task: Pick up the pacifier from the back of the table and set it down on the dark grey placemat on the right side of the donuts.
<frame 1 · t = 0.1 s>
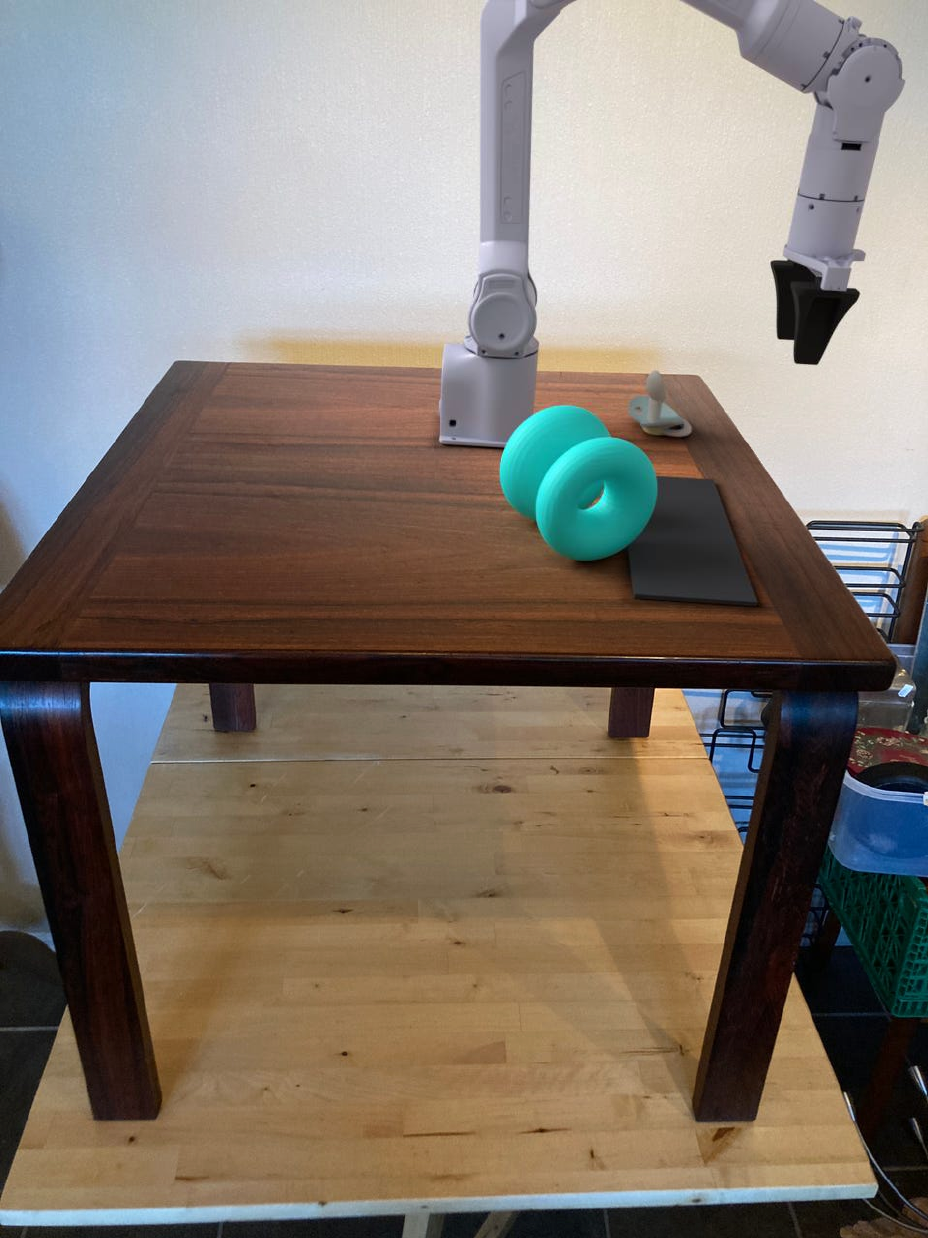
hand: (796, 350, 92), 10 cm above the table, tool pointing down, fingers open, 7 cm apart
placemat: (677, 534, 81), on the table
pacifier: (660, 431, 101), on the table
donuts: (570, 540, 80), on the table
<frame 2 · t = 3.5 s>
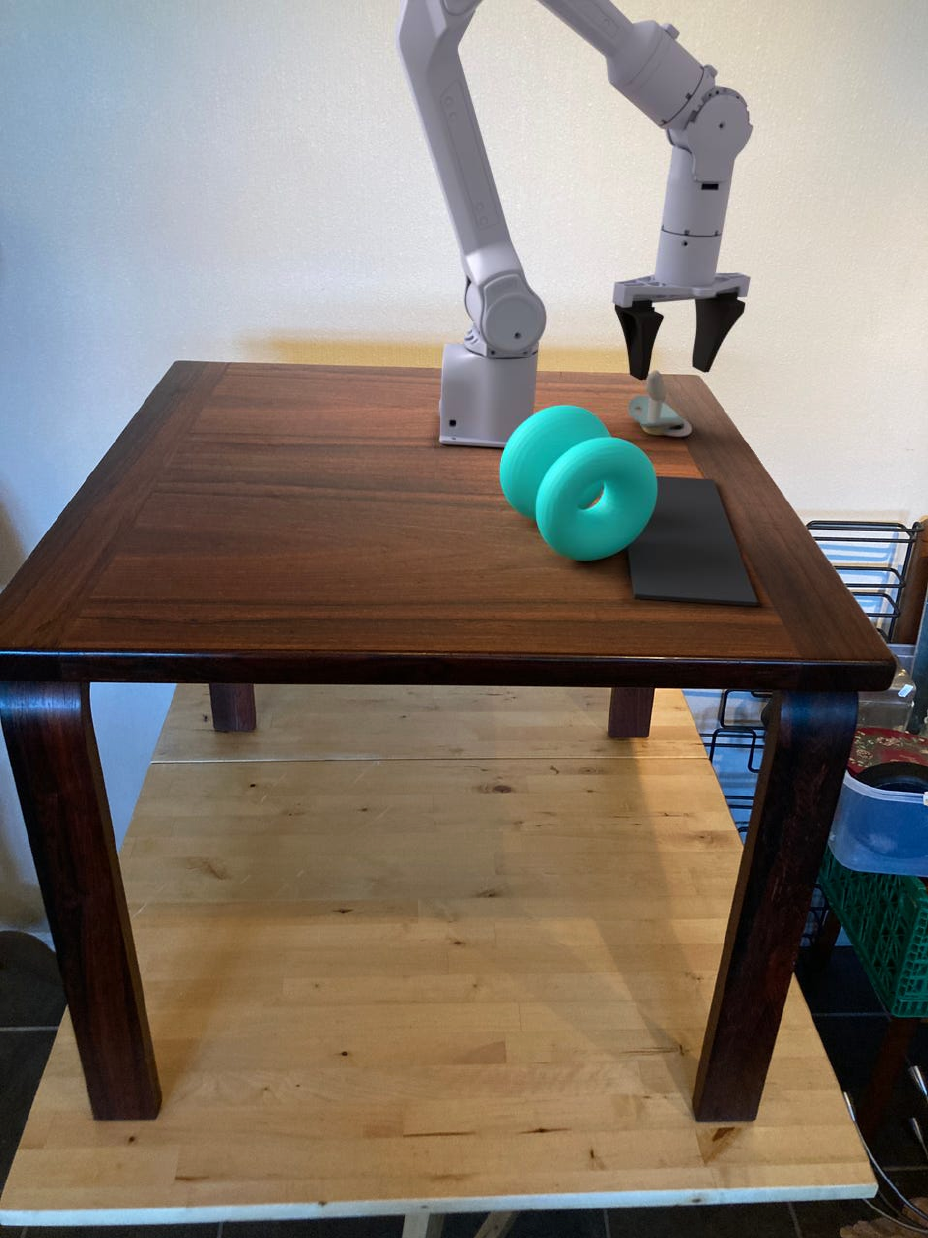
hand: (669, 373, 98), 6 cm above the table, tool pointing down, fingers open, 7 cm apart
nothing on the table moved.
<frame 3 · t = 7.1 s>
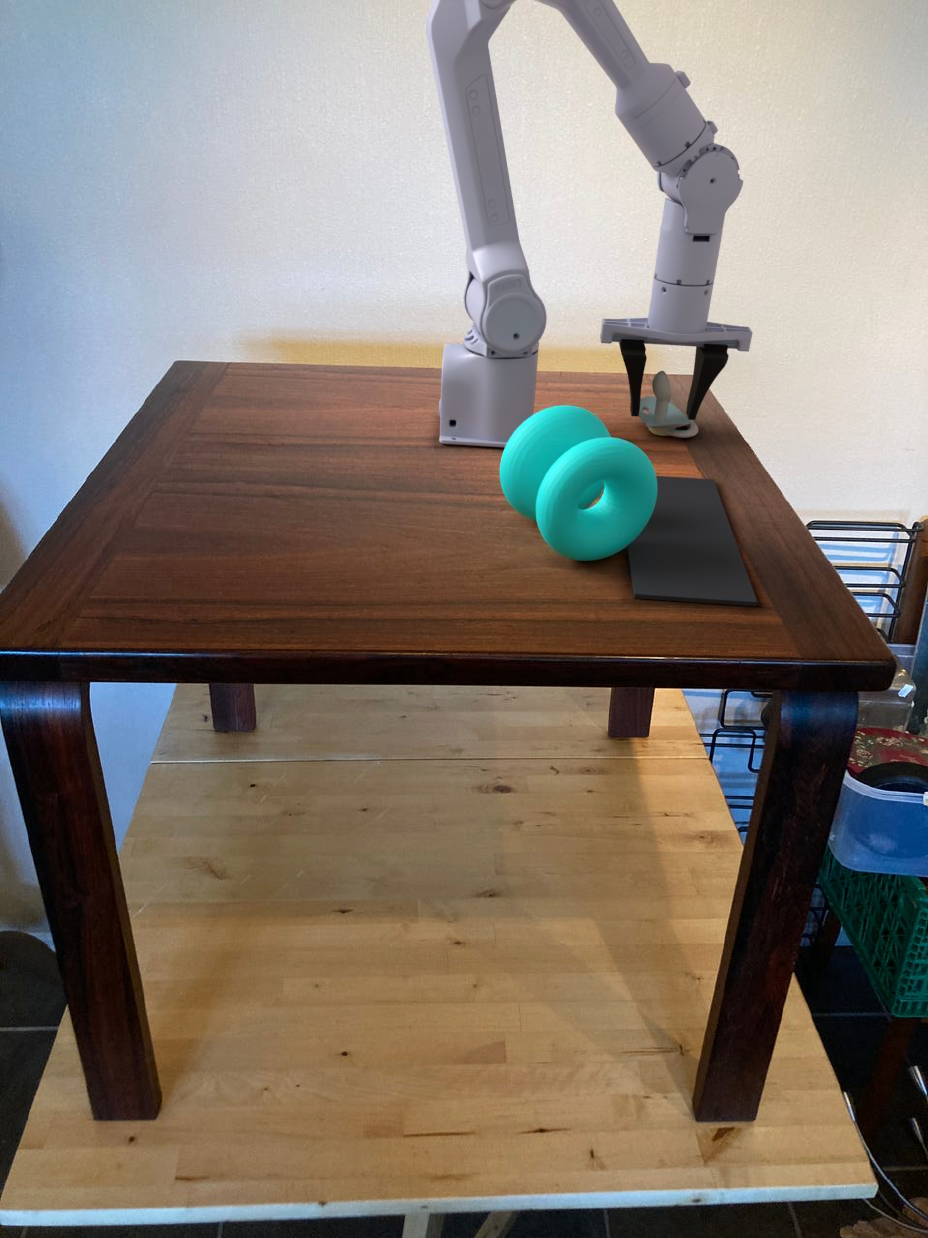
hand: (662, 414, 100), 2 cm above the table, tool pointing down, fingers closed on pacifier, 5 cm apart
pacifier: (667, 431, 101), on the table, touching gripper
everything else where it was.
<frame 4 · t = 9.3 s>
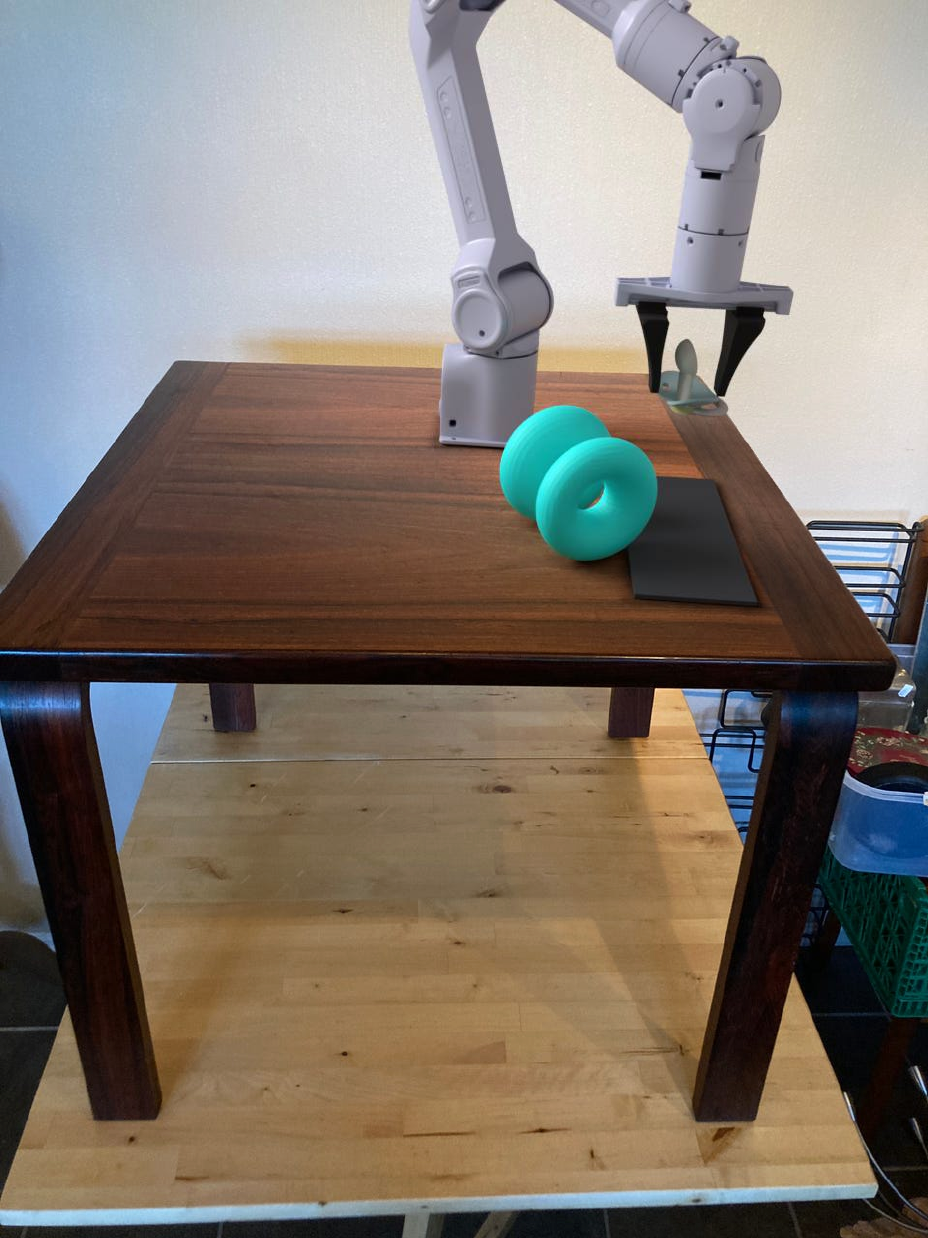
hand: (686, 391, 86), 8 cm above the table, tool pointing down, fingers closed on pacifier, 5 cm apart
pacifier: (691, 411, 87), point 7 cm above the table, touching gripper
everything else where it was.
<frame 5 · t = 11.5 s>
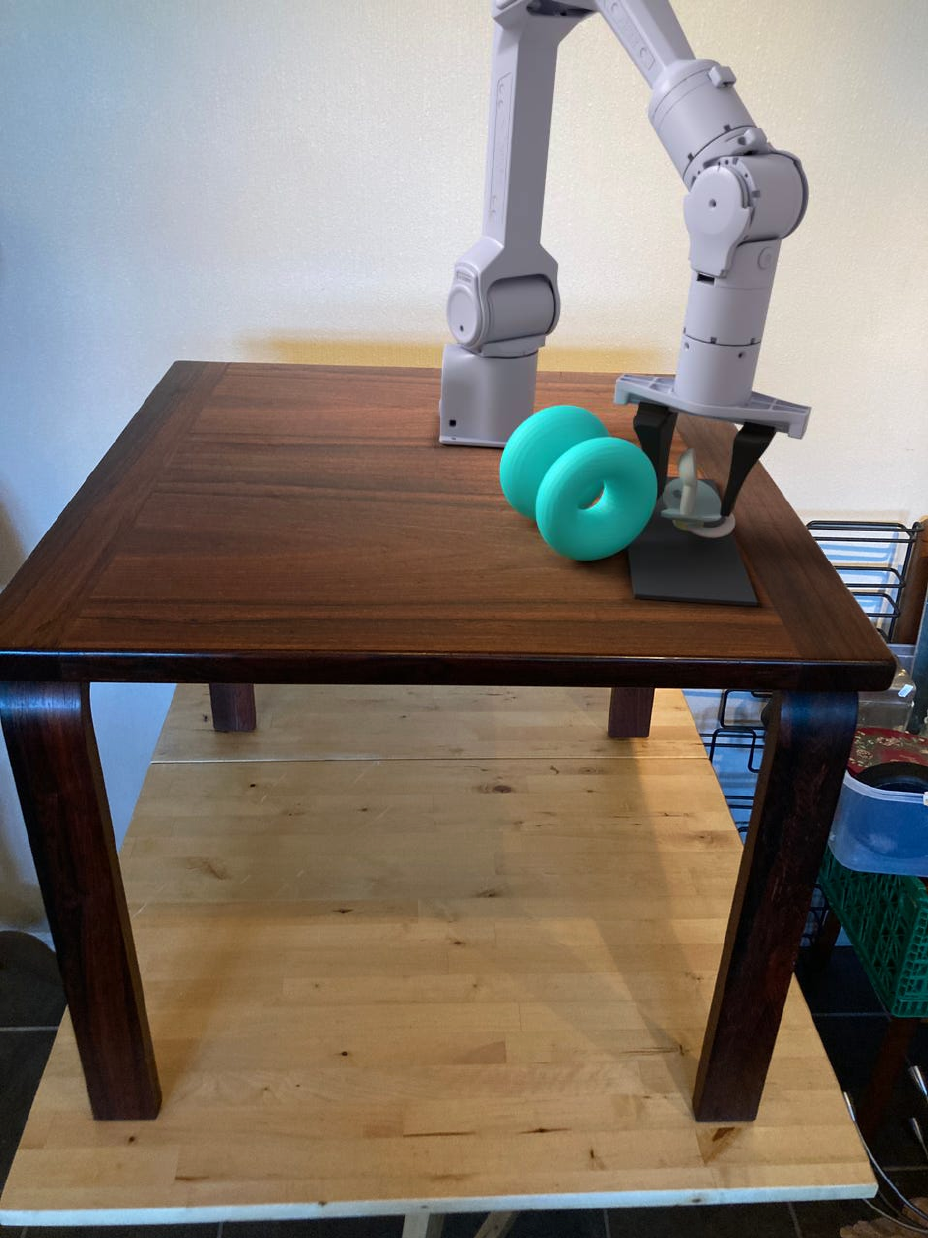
hand: (691, 503, 78), 3 cm above the table, tool pointing down, fingers closed on pacifier, 5 cm apart
pacifier: (696, 525, 79), point 2 cm above the table, touching gripper
donuts: (570, 540, 80), on the table, touching gripper
when the fingers open (4 cm above the table, at t = 14.4 s): pacifier drops 2 cm, resting on placemat.
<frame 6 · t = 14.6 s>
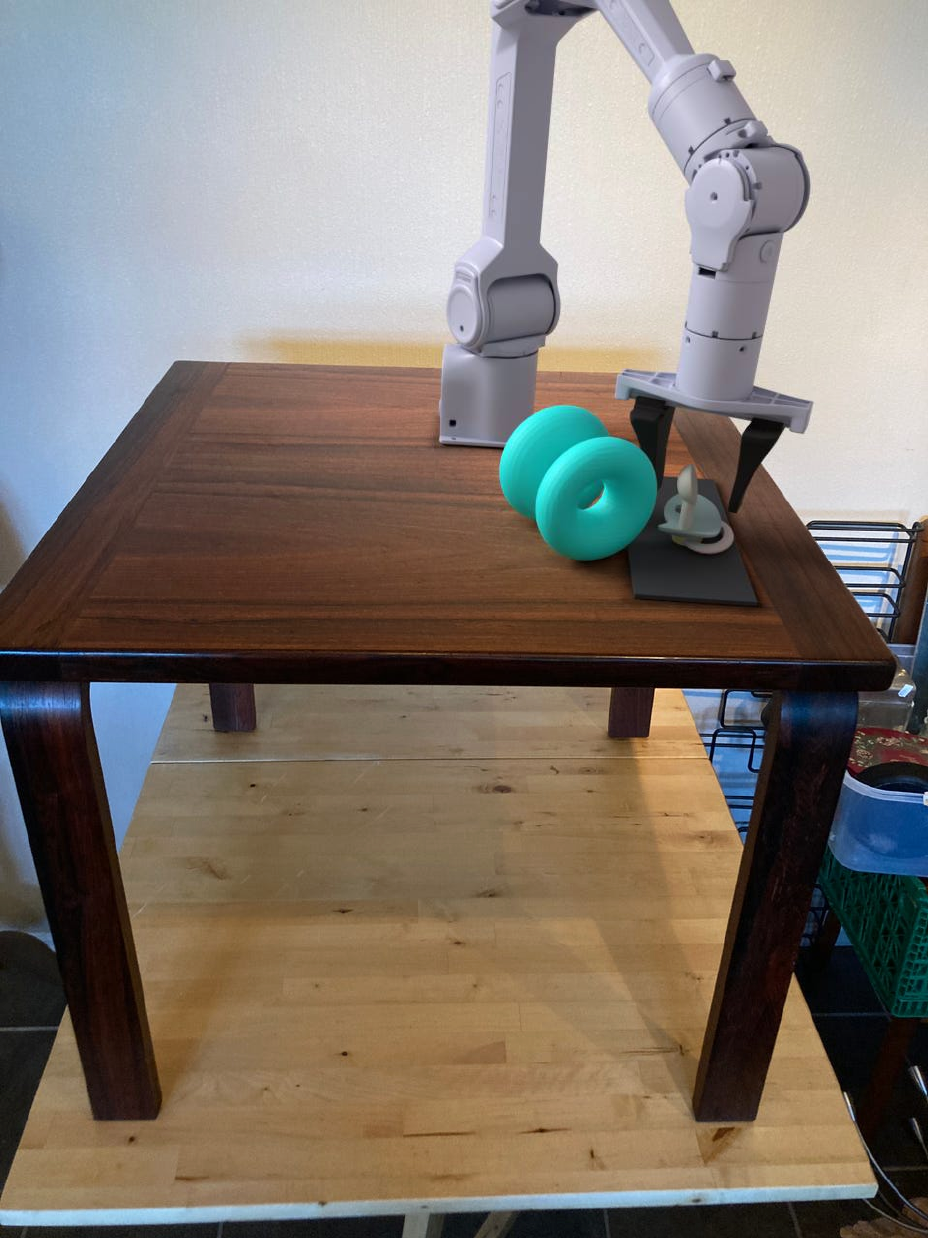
hand: (693, 498, 78), 4 cm above the table, tool pointing down, fingers open, 6 cm apart
pacifier: (694, 540, 80), resting on placemat
everything else where it was.
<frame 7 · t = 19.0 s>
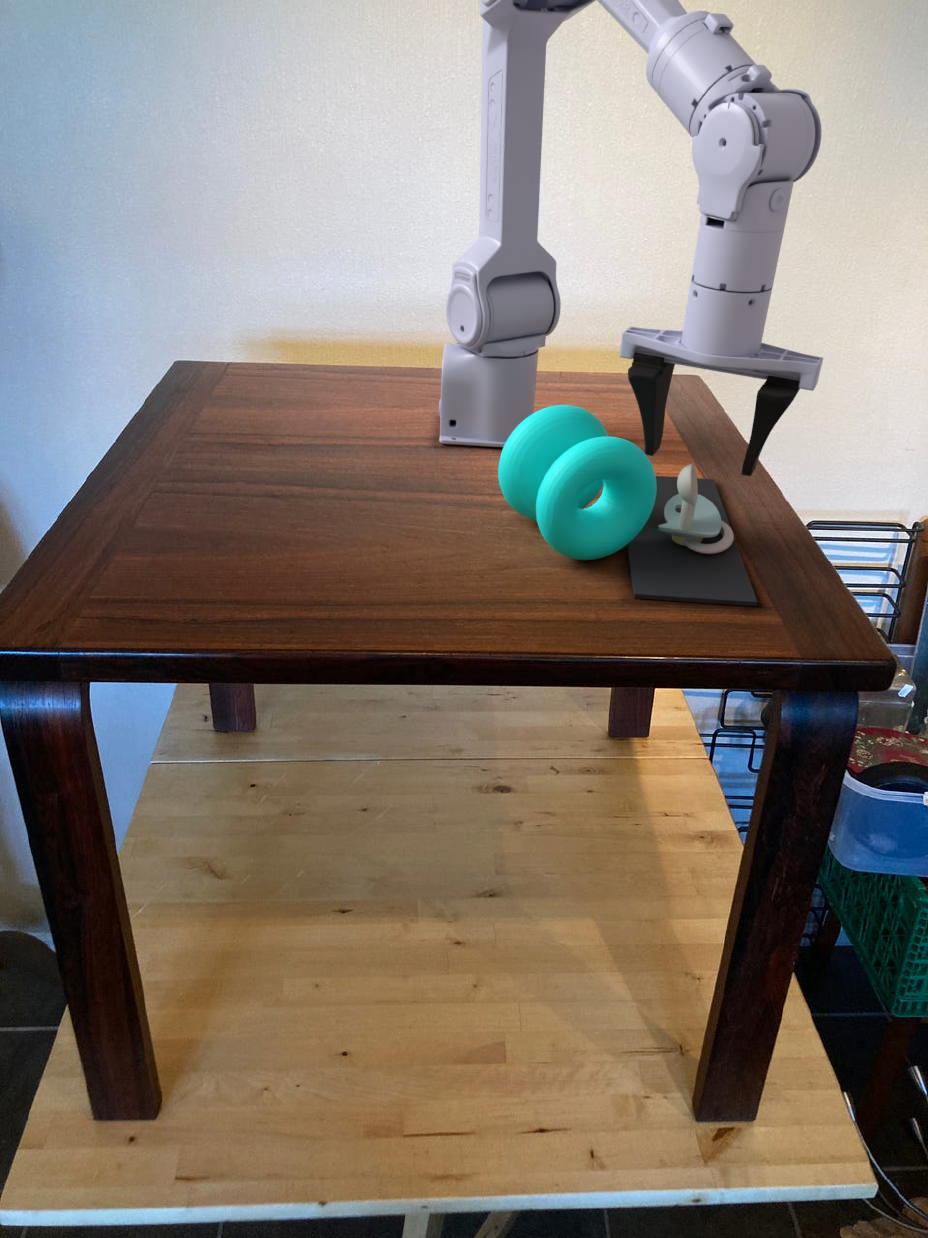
hand: (699, 460, 77), 7 cm above the table, tool pointing down, fingers open, 7 cm apart
donuts: (569, 539, 80), on the table
everything else where it was.
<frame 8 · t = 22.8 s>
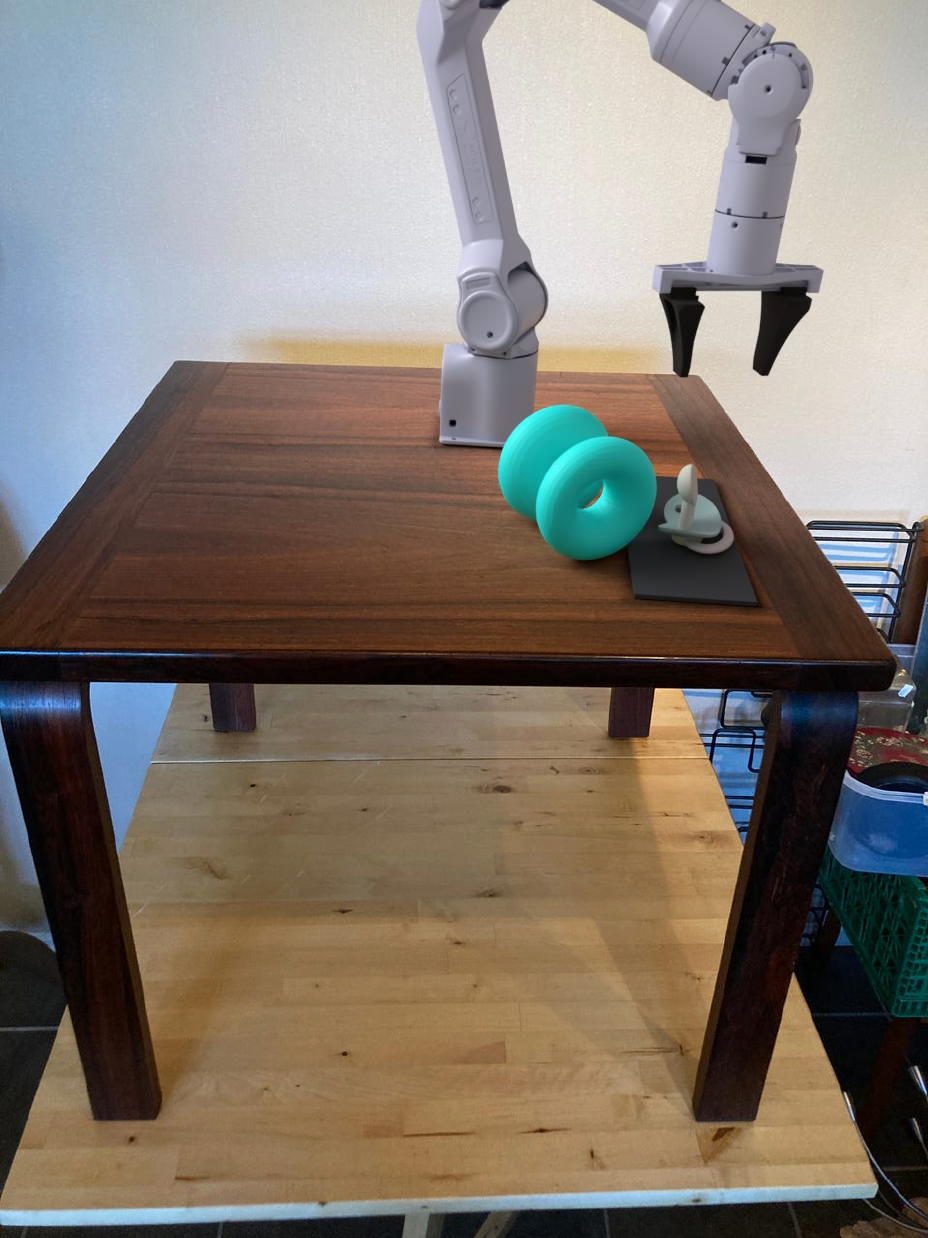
hand: (720, 373, 88), 9 cm above the table, tool pointing down, fingers open, 7 cm apart
nothing on the table moved.
at the end: pacifier inside the target area on the table beside the donuts (0.9 cm from its centre), resting on placemat; the gripper is holding nothing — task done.
